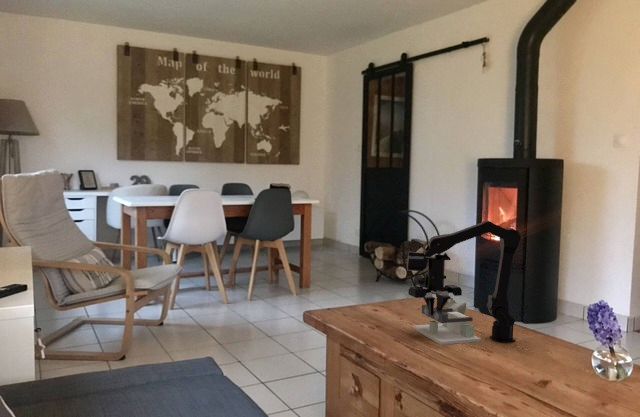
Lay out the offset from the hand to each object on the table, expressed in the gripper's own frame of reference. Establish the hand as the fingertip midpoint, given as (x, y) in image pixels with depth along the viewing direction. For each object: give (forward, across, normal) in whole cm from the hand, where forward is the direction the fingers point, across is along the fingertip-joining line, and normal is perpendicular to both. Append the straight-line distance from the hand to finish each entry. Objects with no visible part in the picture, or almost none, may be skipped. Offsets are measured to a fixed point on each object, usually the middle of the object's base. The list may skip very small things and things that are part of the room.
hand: (434, 314), depth 194 cm
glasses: (+1, -5, 0) cm, 5 cm away
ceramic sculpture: (+8, -19, -21) cm, 29 cm away
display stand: (+8, -5, 0) cm, 9 cm away
